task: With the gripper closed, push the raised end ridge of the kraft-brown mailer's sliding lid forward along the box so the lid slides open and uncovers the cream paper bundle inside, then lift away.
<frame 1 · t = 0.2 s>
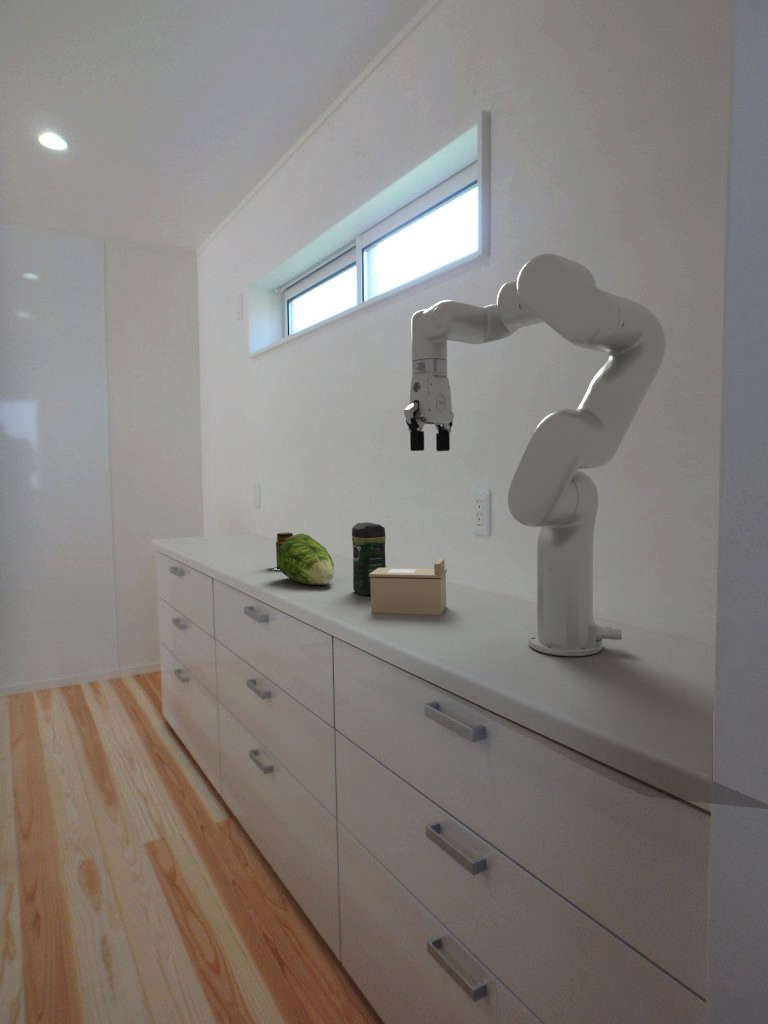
hand: (430, 450, 127), 36 cm above the worktop, fingers open, 9 cm apart
lid: (408, 567, 135), point 10 cm above the worktop, slide at 0.0 cm
box: (409, 609, 135), on the worktop
lettuce: (310, 583, 171), on the worktop
coffee jar: (370, 593, 155), on the worktop
condiment: (283, 569, 197), on the worktop
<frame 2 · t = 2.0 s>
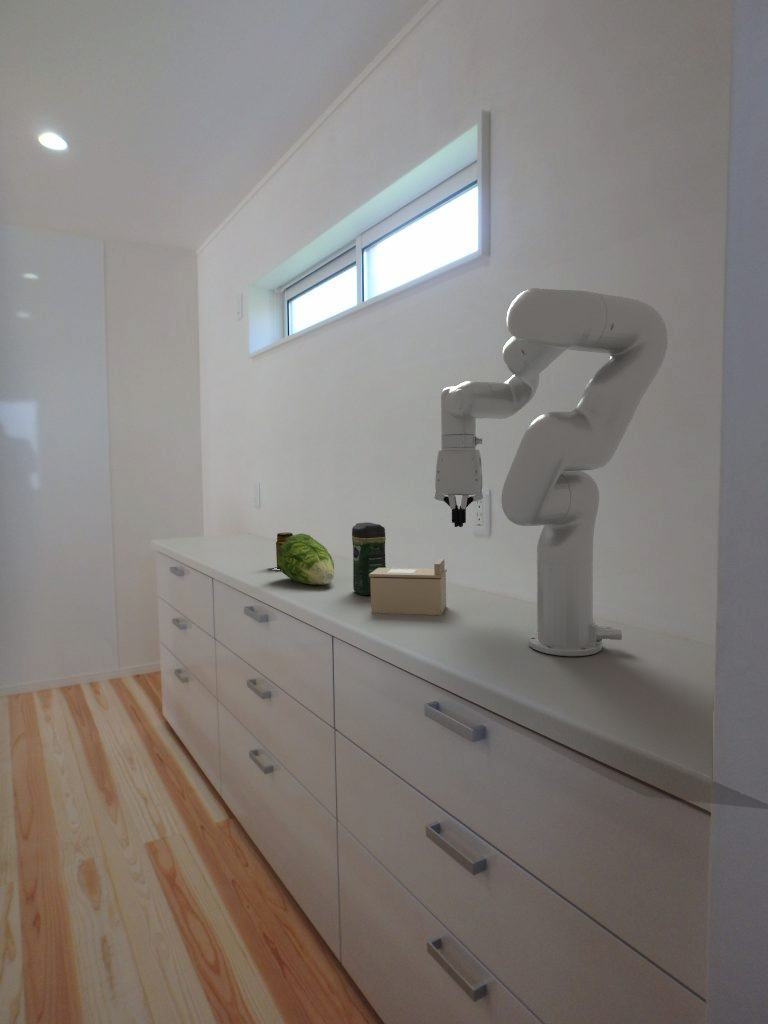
hand: (458, 526, 131), 19 cm above the worktop, fingers closed
nothing on the worktop moved.
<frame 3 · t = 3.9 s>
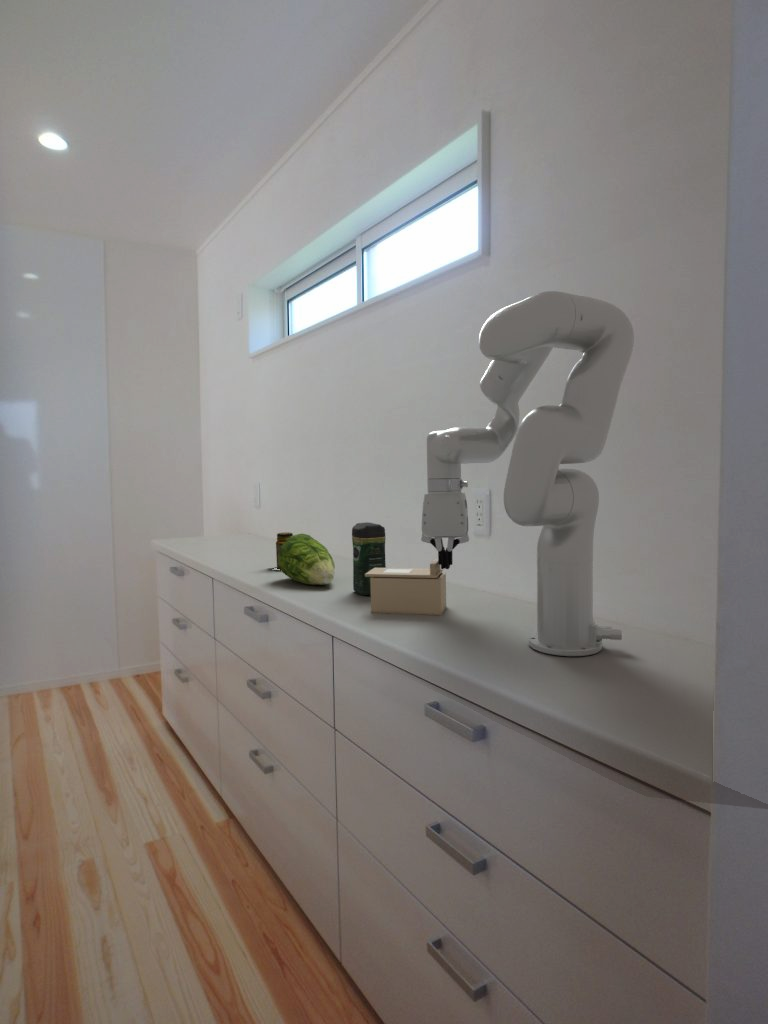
hand: (445, 567, 133), 10 cm above the worktop, fingers closed
lid: (404, 567, 135), point 10 cm above the worktop, slide at 1.0 cm, touching gripper
everything else where it was.
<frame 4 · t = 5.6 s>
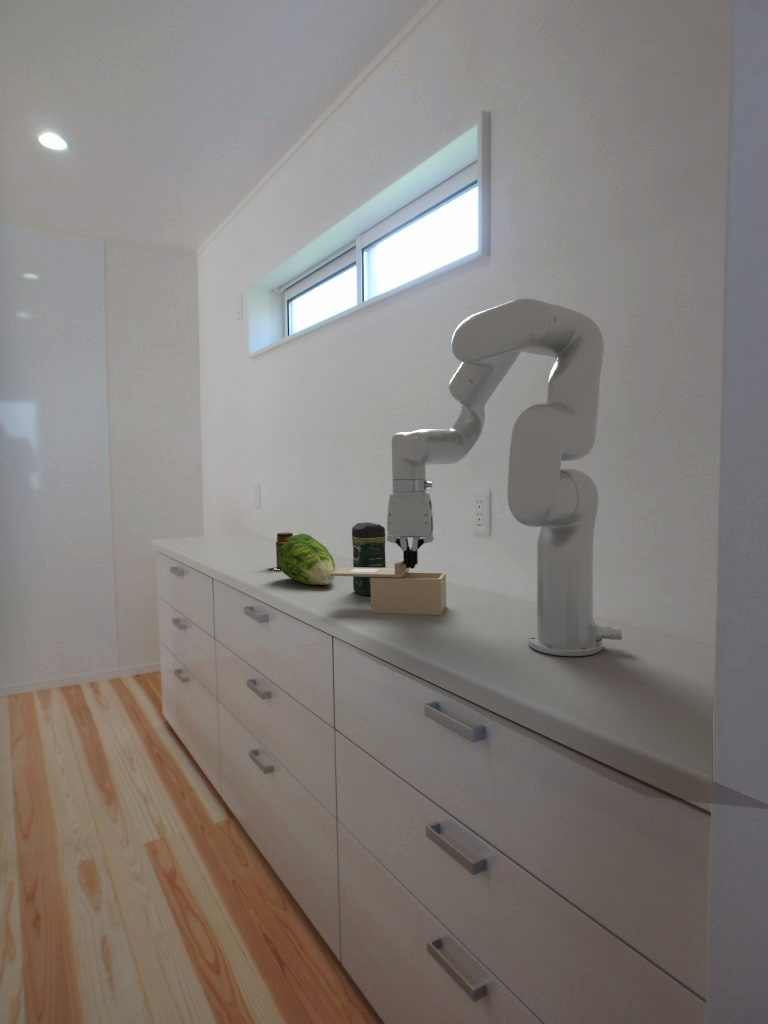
hand: (410, 567, 135), 10 cm above the worktop, fingers closed
lid: (370, 566, 137), point 10 cm above the worktop, slide at 9.0 cm, touching gripper
everything else where it was.
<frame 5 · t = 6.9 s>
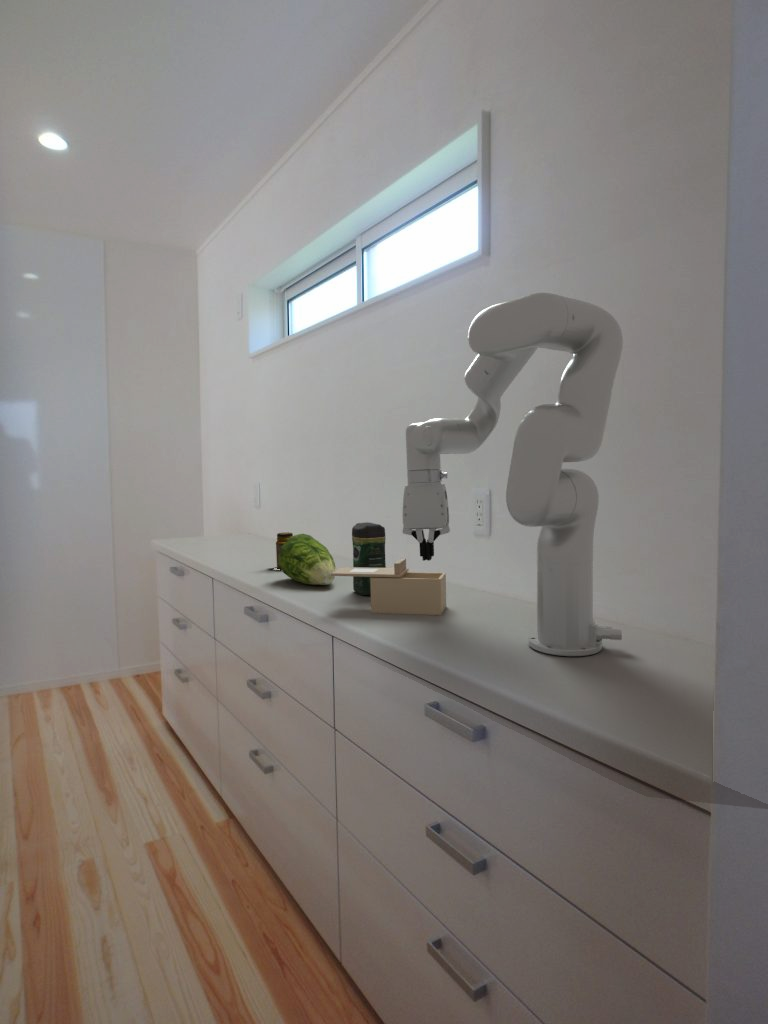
hand: (427, 559, 133), 12 cm above the worktop, fingers closed
lid: (370, 566, 137), point 10 cm above the worktop, slide at 9.1 cm
everything else where it was.
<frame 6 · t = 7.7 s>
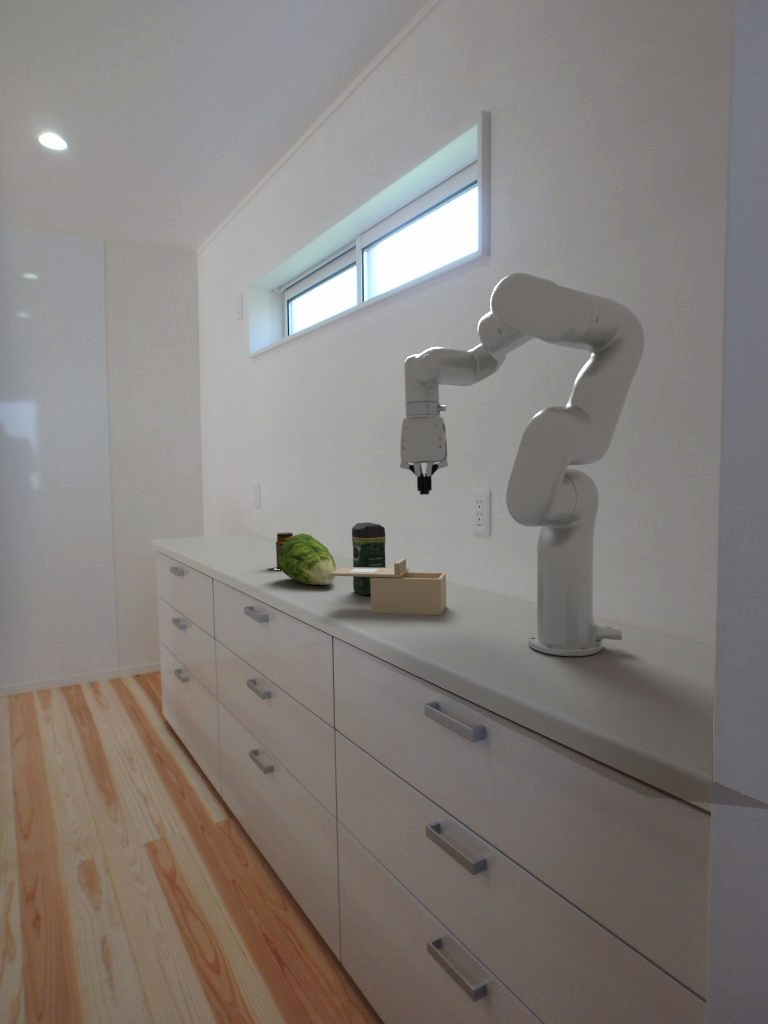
hand: (424, 494, 132), 27 cm above the worktop, fingers closed
nothing on the worktop moved.
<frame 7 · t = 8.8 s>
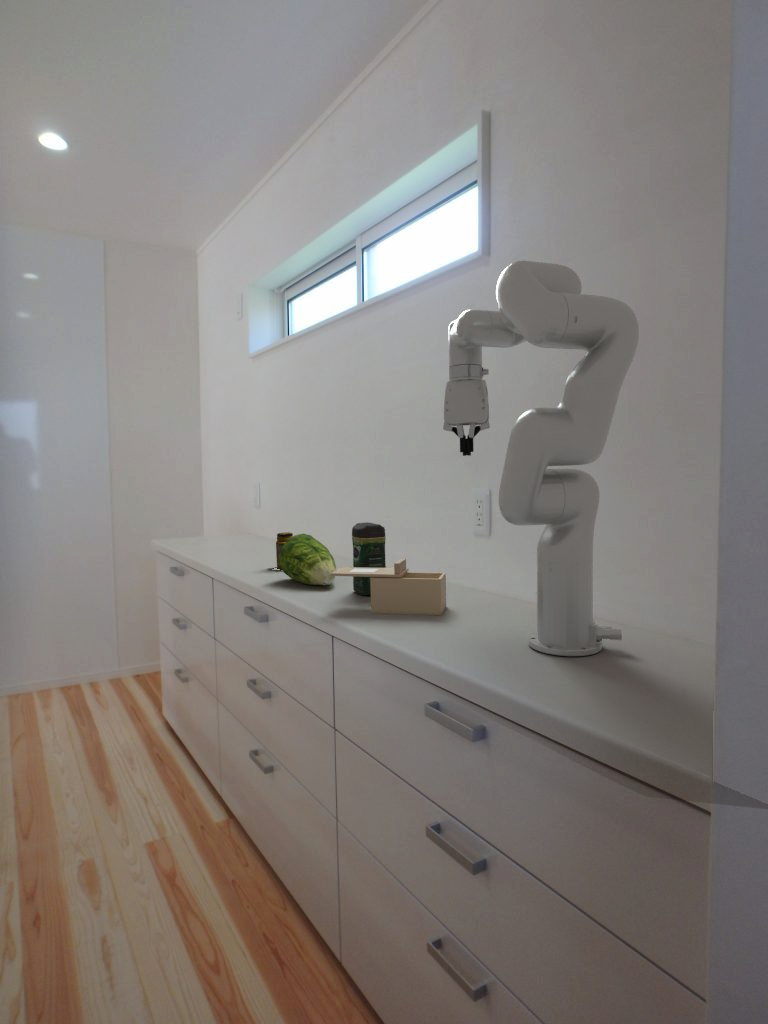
hand: (466, 455, 136), 35 cm above the worktop, fingers closed
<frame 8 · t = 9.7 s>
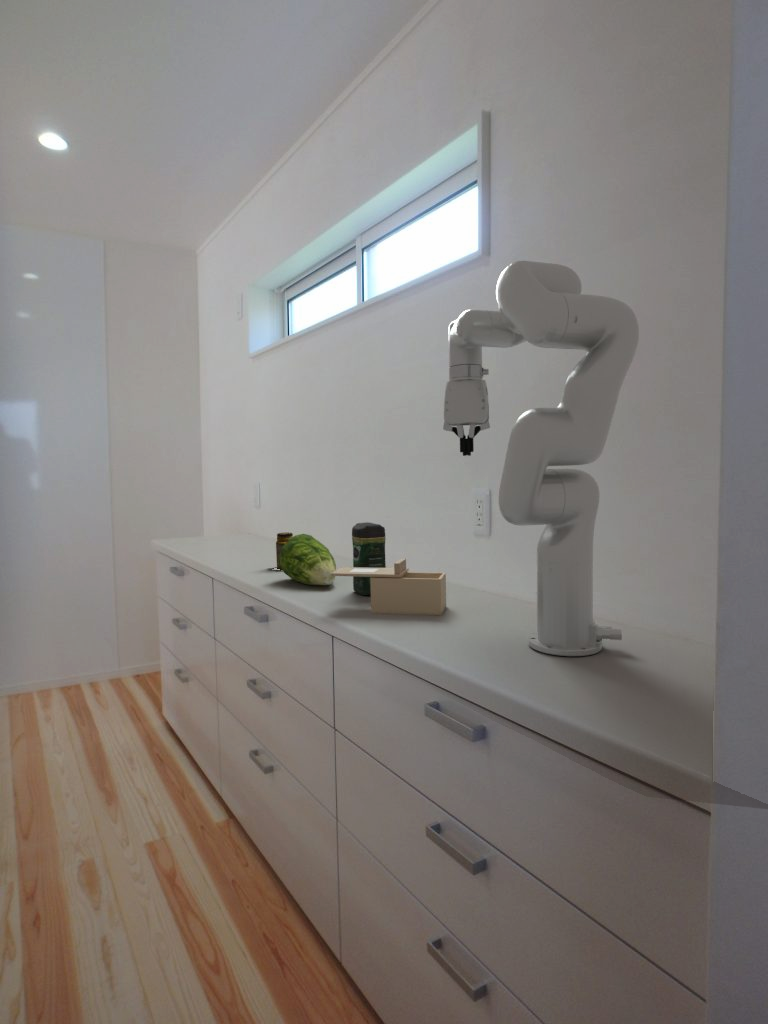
hand: (466, 455, 136), 35 cm above the worktop, fingers closed
at the end: lid slide at 9.1 cm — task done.
